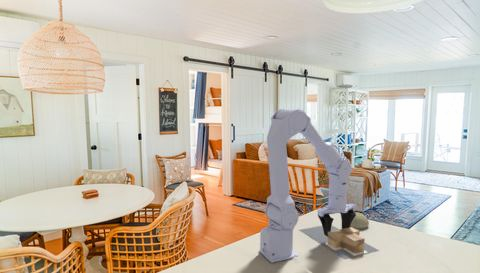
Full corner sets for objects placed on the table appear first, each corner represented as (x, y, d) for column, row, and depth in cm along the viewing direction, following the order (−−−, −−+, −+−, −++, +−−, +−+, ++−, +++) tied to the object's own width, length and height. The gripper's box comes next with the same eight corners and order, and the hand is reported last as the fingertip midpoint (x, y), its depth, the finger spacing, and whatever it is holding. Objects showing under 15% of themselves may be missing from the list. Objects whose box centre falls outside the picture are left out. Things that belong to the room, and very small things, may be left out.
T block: (346, 255, 90) (347, 242, 89) (327, 243, 98) (328, 231, 97) (371, 249, 94) (371, 237, 93) (351, 238, 102) (351, 227, 101)
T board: (344, 260, 88) (344, 259, 87) (298, 231, 109) (298, 229, 108) (379, 252, 93) (379, 250, 93) (329, 225, 114) (329, 224, 114)
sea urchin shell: (337, 221, 113) (344, 203, 117) (343, 231, 118) (350, 214, 121) (361, 228, 107) (368, 209, 110) (367, 239, 111) (373, 220, 115)
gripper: (328, 200, 93) (326, 242, 94) (363, 195, 99) (361, 234, 100) (314, 194, 99) (312, 233, 101) (347, 189, 105) (346, 227, 106)
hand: (336, 233), depth 101 cm, fingers open, 7 cm apart
